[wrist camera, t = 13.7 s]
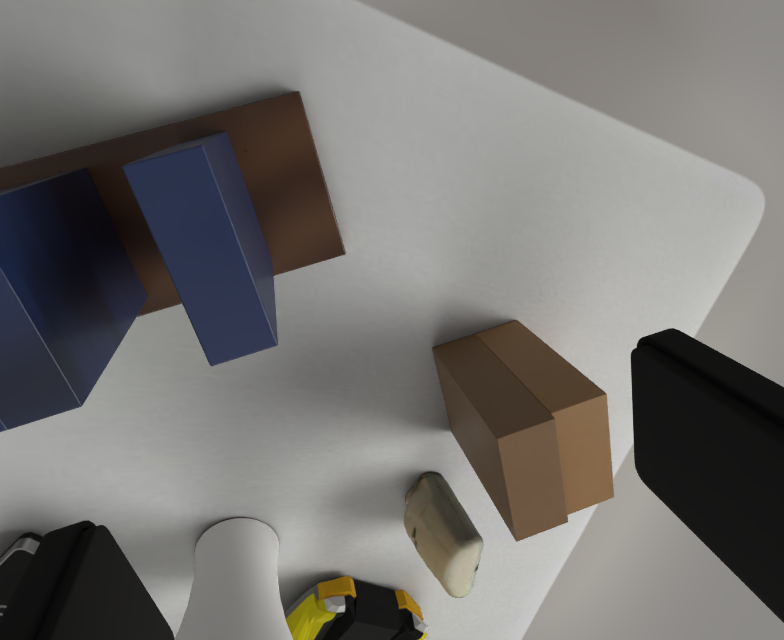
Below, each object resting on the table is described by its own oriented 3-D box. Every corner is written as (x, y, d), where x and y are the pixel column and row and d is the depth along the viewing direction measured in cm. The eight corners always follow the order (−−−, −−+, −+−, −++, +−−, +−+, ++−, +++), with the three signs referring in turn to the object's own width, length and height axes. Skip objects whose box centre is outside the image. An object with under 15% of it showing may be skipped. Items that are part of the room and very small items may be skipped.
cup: (297, 485, 41) (313, 645, 29) (308, 583, 45) (325, 760, 33) (156, 509, 39) (107, 692, 27) (180, 609, 43) (147, 809, 30)
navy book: (177, 143, 29) (120, 166, 17) (226, 130, 29) (203, 144, 18) (229, 274, 32) (210, 367, 21) (272, 261, 33) (278, 345, 21)
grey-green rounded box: (467, 504, 46) (506, 578, 38) (417, 535, 46) (446, 614, 38) (441, 461, 43) (477, 532, 36) (387, 493, 43) (412, 570, 36)
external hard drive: (-67, 621, 38) (-83, 646, 36) (30, 522, 37) (18, 543, 35) (25, 654, 41) (14, 679, 39) (117, 563, 40) (110, 585, 38)
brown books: (431, 347, 39) (496, 439, 28) (517, 319, 40) (612, 397, 29) (451, 431, 42) (516, 542, 32) (529, 404, 43) (619, 502, 32)
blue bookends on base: (-19, 173, 29) (-248, 224, 16) (297, 91, 31) (323, 77, 18) (70, 331, 33) (-54, 474, 20) (343, 250, 35) (391, 331, 22)
